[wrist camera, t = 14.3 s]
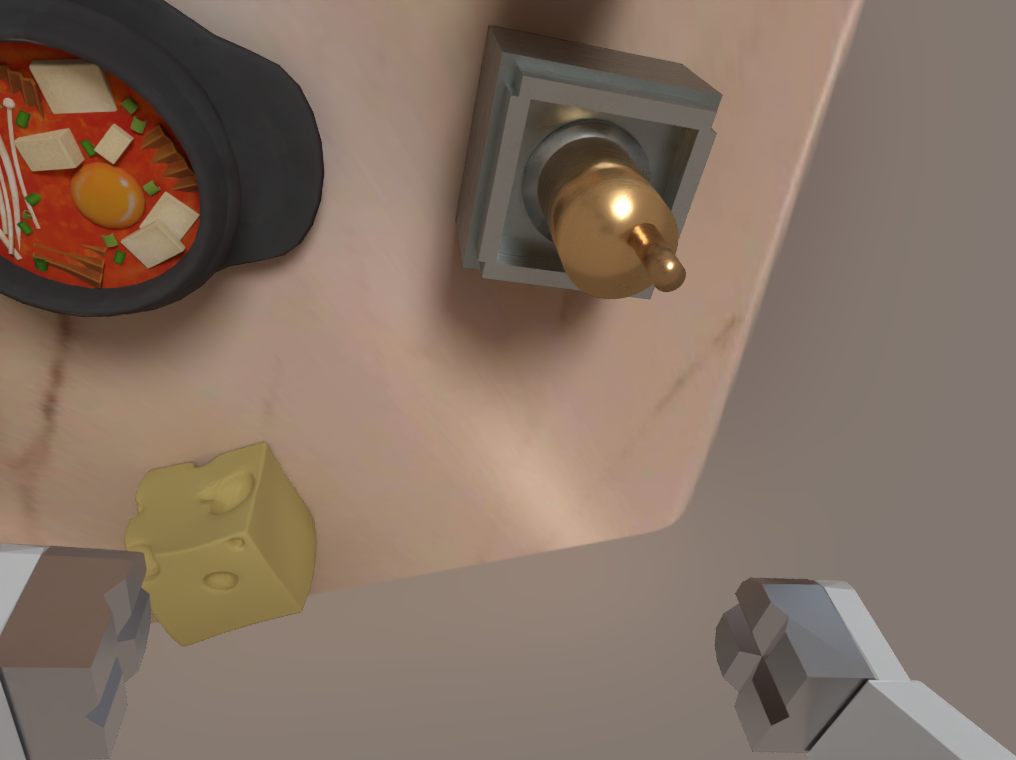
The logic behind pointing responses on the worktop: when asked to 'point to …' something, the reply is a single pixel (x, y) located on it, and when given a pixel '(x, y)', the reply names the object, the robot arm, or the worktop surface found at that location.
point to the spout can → (608, 221)
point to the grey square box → (559, 120)
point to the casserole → (142, 156)
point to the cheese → (222, 544)
